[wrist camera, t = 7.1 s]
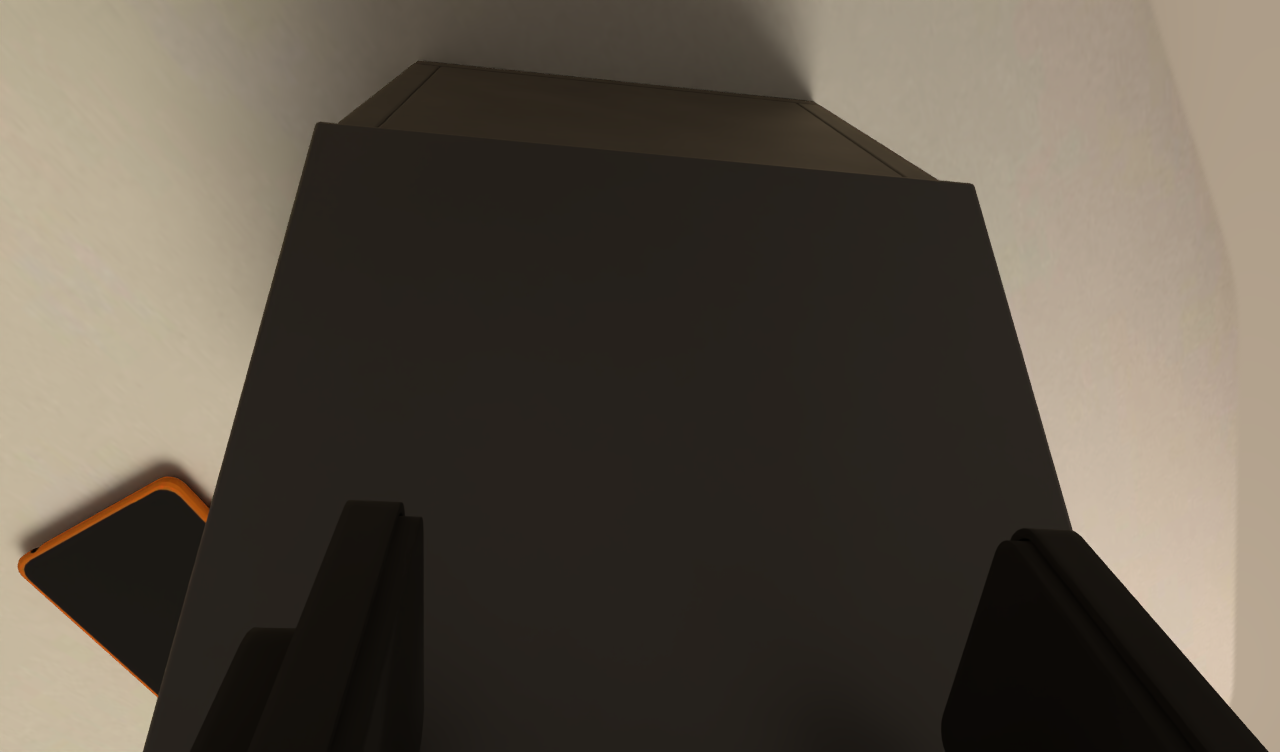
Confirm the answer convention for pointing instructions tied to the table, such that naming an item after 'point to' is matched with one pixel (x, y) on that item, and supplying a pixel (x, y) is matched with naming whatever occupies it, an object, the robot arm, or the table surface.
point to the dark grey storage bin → (625, 118)
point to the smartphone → (126, 573)
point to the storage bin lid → (631, 442)
